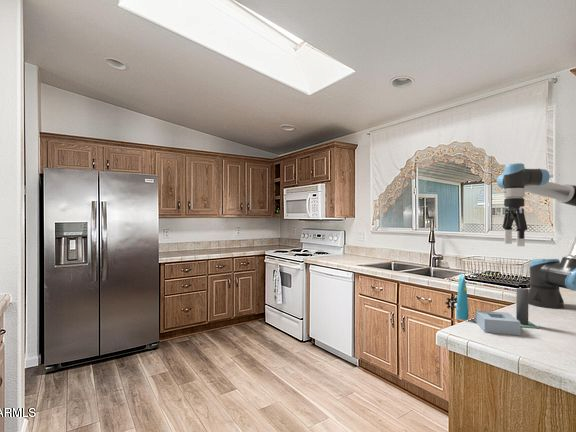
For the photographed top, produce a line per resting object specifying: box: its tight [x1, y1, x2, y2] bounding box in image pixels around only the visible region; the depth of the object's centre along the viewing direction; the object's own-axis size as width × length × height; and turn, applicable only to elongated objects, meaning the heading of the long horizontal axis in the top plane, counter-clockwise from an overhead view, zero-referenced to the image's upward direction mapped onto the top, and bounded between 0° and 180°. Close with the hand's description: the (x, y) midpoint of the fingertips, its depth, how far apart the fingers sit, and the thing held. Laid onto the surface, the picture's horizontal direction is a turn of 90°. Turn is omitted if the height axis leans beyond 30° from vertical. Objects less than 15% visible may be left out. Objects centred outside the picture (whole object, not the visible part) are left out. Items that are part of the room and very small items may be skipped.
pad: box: [520, 320, 539, 329], centre depth 134 cm, size 8×8×1 cm
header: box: [474, 309, 521, 336], centre depth 129 cm, size 12×12×5 cm
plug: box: [515, 287, 529, 325], centre depth 134 cm, size 4×4×14 cm
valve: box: [444, 295, 470, 318], centre depth 149 cm, size 7×7×12 cm
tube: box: [455, 273, 470, 321], centre depth 141 cm, size 7×5×19 cm, turn 168°
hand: (514, 244), depth 147 cm, fingers open, 13 cm apart
